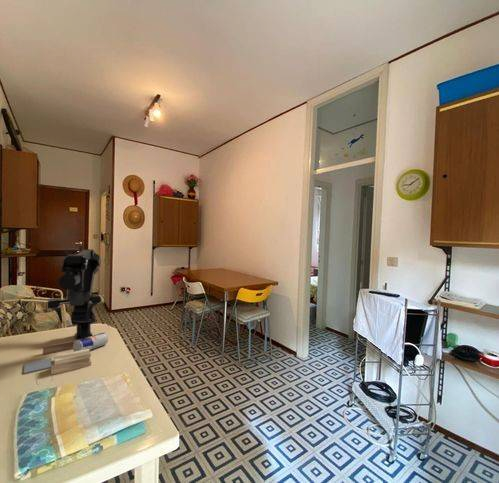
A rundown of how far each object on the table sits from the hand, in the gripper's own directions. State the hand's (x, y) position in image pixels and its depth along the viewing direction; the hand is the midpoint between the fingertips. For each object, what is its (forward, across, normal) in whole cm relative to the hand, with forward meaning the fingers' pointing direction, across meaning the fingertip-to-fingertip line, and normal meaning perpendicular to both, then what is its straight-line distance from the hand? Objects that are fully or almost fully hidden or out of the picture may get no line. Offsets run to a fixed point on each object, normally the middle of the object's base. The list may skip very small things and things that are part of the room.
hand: (74, 320), depth 113 cm
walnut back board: (+12, -2, +1) cm, 12 cm away
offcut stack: (+12, -2, -17) cm, 21 cm away
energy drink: (+9, 0, -6) cm, 11 cm away
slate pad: (+12, -12, -10) cm, 20 cm away
